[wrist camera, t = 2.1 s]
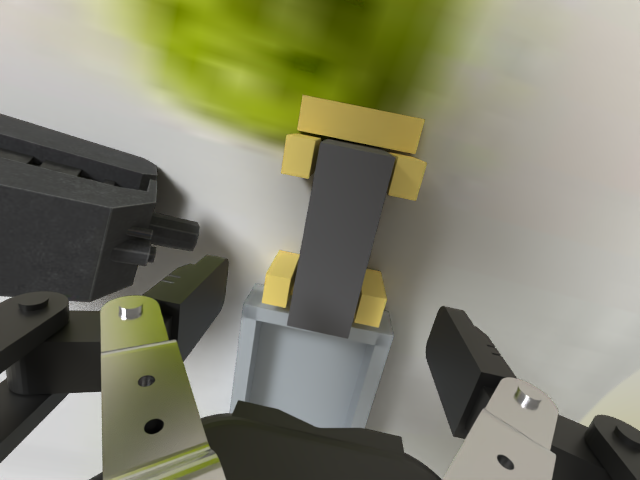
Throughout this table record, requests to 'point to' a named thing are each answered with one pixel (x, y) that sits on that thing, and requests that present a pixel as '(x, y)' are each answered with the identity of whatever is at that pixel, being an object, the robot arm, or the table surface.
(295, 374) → the tray
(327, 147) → the grey slab
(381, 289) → the blocks
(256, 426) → the robot arm
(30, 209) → the tool
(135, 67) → the table surface
